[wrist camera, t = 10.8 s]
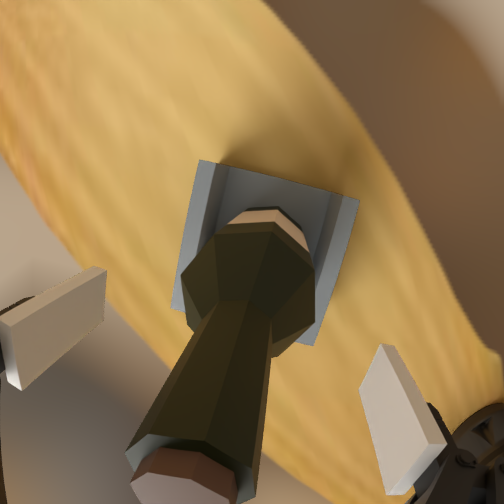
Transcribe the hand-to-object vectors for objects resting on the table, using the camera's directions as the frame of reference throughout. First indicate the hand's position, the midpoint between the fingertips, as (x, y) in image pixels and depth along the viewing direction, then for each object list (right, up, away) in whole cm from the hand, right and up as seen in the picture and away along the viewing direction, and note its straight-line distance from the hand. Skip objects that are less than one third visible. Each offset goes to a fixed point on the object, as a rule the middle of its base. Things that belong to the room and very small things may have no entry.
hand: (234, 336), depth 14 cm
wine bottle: (+2, +5, +21) cm, 22 cm away
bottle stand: (+2, +5, +22) cm, 22 cm away
